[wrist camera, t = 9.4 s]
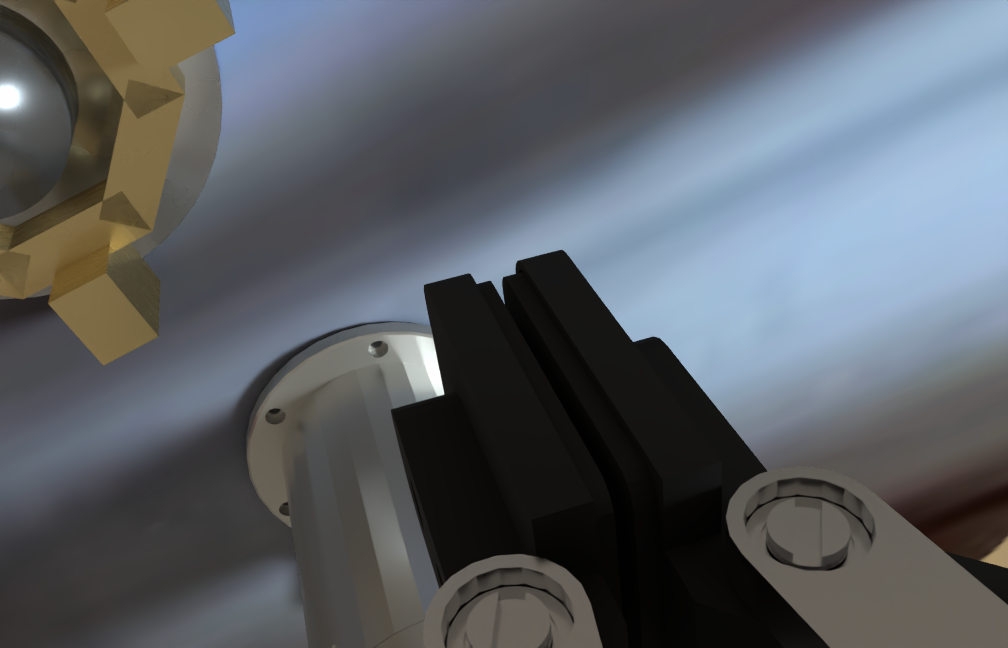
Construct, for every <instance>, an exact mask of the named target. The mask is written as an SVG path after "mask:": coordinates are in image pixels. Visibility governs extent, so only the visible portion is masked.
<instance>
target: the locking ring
mask: <svg viewBox="0 0 1008 648" xmlns="http://www.w3.org/2000/svg"><path fill="white" fill-rule="evenodd" d="M54 2H55V3H56V4H57V6H58V7H59V9H60V10H61V11H62V13H63V14H64V16H65V17H66V19H67V20H68V21H69V23H70V24H71V26H72V27H73V28H74V30H75V31H76V33H77V34H78V35H79V37H80V38H81V40H82V41H83V43H84V44H85V45H86V47H87V48H88V50H89V51H90V52H91V54H92V55H93V57H94V58H95V59H96V61H97V62H98V64H99V65H100V67H101V68H102V69H103V71H104V72H105V74H106V75H107V76H108V78H109V79H110V81H111V82H112V83H113V85H114V86H115V88H116V89H117V91H118V92H119V93H120V95H121V96H122V98H123V103H122V107H121V112H120V117H119V122H118V126H117V131H116V136H115V141H114V145H113V150H112V155H111V160H110V164H109V169H108V174H107V179H105V180H103V181H101V182H99V183H97V184H96V185H94V186H92V187H90V188H88V189H86V190H84V191H82V192H80V193H78V194H76V195H75V196H73V197H71V198H69V199H67V200H65V201H63V202H61V203H59V204H57V205H55V206H54V207H52V208H50V209H48V210H46V211H44V212H42V213H40V214H38V215H36V216H35V217H33V218H31V219H29V220H27V221H25V222H23V223H21V224H19V225H17V226H11V225H6V224H1V223H0V295H1V296H7V297H12V298H18V299H25V298H27V297H29V296H30V295H32V294H34V293H36V292H38V291H40V290H42V289H44V288H46V287H48V286H50V285H51V284H52V289H51V293H50V298H49V302H48V304H49V305H50V306H51V307H52V308H53V310H54V311H55V312H56V313H57V314H58V315H59V316H60V317H61V319H62V320H63V321H64V322H65V323H66V324H67V325H68V326H69V328H70V329H71V330H72V331H73V332H74V333H75V334H76V335H77V336H78V338H79V339H80V340H81V341H82V342H83V343H84V344H85V345H86V347H87V348H88V349H89V350H90V351H91V352H92V353H93V354H94V356H95V357H96V358H97V359H98V360H99V361H100V362H101V363H102V364H103V366H104V365H106V364H107V363H109V362H111V361H113V360H115V359H117V358H119V357H121V356H123V355H125V354H126V353H128V352H130V351H132V350H134V349H136V348H138V347H140V346H142V345H143V344H145V343H147V342H149V341H151V340H153V339H155V338H157V337H158V336H159V306H160V280H159V279H158V277H157V276H156V275H155V273H154V272H153V271H152V270H151V268H150V267H149V266H148V264H147V263H146V262H145V261H144V259H143V258H142V257H141V256H140V254H139V253H138V252H137V250H136V249H135V248H134V247H133V245H132V244H131V242H133V241H135V240H137V239H139V238H141V237H143V236H145V235H147V234H148V233H150V232H152V231H153V228H154V224H155V219H156V215H157V211H158V207H159V203H160V198H161V194H162V190H163V186H164V182H165V177H166V173H167V169H168V165H169V161H170V156H171V152H172V148H173V144H174V140H175V135H176V131H177V127H178V123H179V119H180V114H181V110H182V106H183V102H184V98H185V76H184V74H183V73H182V71H181V70H180V68H179V67H178V65H177V64H178V63H180V62H182V61H184V60H186V59H188V58H189V57H191V56H193V55H195V54H197V53H199V52H201V51H203V50H205V49H207V48H209V47H210V46H212V45H214V44H216V43H218V42H220V41H222V40H224V39H226V38H228V37H230V36H231V35H233V34H235V29H234V23H233V18H232V13H231V8H230V2H229V0H54Z"/></svg>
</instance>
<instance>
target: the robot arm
mask: <svg viewBox="0 0 1008 648" xmlns="http://www.w3.org/2000/svg"><path fill="white" fill-rule="evenodd" d="M502 286H503V294H504V301H505V304H504V303H503V301H502V299H501V297H500V296H499V294H498V292H497V290H496V289H495V287H494V285H493V283H492V282H491V281H487V282H483V283H479V284H476V282H475V281H474V279H473V277H472V276H471V274H465V275H461V276H457V277H453V278H449V279H445V280H441V281H437V282H433V283H429V284H426V285H424V294H425V300H426V305H427V310H428V315H429V320H430V325H431V327H430V326H426V325H422V324H415V323H401V322H389V323H378V324H368V325H364V326H360V327H356V328H352V329H348V330H345V331H341V332H338V333H336V334H334V335H332V336H329V337H327V338H325V339H323V340H320V341H318V342H316V343H314V344H313V345H311V346H310V347H308V348H307V349H305V350H304V351H302V352H301V353H299V354H297V355H296V356H294V357H293V358H292V359H291V360H290V361H289V362H288V363H287V364H285V365H284V366H283V367H282V368H281V369H280V370H279V371H278V372H277V373H276V374H275V375H274V376H273V377H272V379H271V380H270V382H269V383H268V384H267V386H266V387H265V388H264V390H263V391H262V392H261V394H260V395H259V398H258V400H257V402H256V404H255V406H254V409H253V411H252V413H251V415H250V419H249V424H248V429H247V434H246V453H247V463H248V469H249V475H250V479H251V482H252V484H253V486H254V488H255V491H256V493H257V495H258V497H259V498H260V500H261V501H262V502H263V504H264V505H265V506H266V507H267V509H268V510H269V511H270V512H271V513H272V514H273V515H274V516H275V517H277V518H278V519H279V520H280V521H282V522H283V523H284V524H285V525H286V526H288V527H290V528H292V534H293V541H294V548H295V555H296V562H297V569H298V576H299V583H300V590H301V597H302V604H303V611H304V618H305V625H306V632H307V639H308V646H309V648H1008V568H1004V567H1001V566H997V565H993V564H989V563H986V562H982V561H978V560H974V559H971V558H967V557H963V556H959V555H956V554H952V553H948V552H945V551H943V550H941V549H940V548H939V547H938V546H937V545H935V544H934V543H933V542H932V541H931V540H929V539H928V538H927V537H926V536H925V535H923V534H922V533H921V532H920V531H919V530H917V529H916V528H915V527H914V526H913V525H911V524H910V523H909V522H908V521H907V520H905V519H904V518H903V517H902V516H901V515H899V514H898V513H897V512H896V511H895V510H893V509H892V508H891V507H890V506H889V505H887V504H886V503H885V502H884V501H883V500H881V499H880V498H879V497H878V496H877V495H875V494H874V493H873V492H872V491H870V490H869V489H867V488H866V487H864V486H863V485H861V484H859V483H858V482H856V481H855V480H853V479H852V478H849V477H846V476H843V475H841V474H838V473H835V472H832V471H830V470H825V469H818V468H811V467H804V466H801V467H785V468H777V469H774V470H771V471H767V470H766V469H765V468H764V466H763V465H762V464H761V463H760V461H759V460H758V459H757V458H756V456H755V455H754V454H753V453H752V451H751V450H750V449H749V447H748V446H747V445H746V444H745V442H744V441H743V440H742V439H741V437H740V436H739V435H738V434H737V432H736V431H735V430H734V429H733V427H732V426H731V425H730V424H729V422H728V421H727V420H726V419H725V417H724V416H723V415H722V414H721V412H720V411H719V410H718V409H717V407H716V406H715V405H714V404H713V402H712V401H711V400H710V399H709V397H708V396H707V395H706V394H705V392H704V391H703V390H702V389H701V387H700V386H699V385H698V384H697V382H696V381H695V380H694V379H693V377H692V376H691V375H690V374H689V372H688V371H687V370H686V369H685V367H684V366H683V365H682V364H681V362H680V361H679V360H678V359H677V357H676V356H675V355H674V354H673V352H672V351H671V350H670V349H669V347H668V346H667V345H666V344H665V343H664V342H663V341H662V340H661V339H660V338H657V337H650V338H646V339H643V340H639V341H636V342H632V340H631V339H630V338H629V336H628V335H627V334H626V332H625V331H624V330H623V328H622V327H621V326H620V324H619V323H618V322H617V320H616V319H615V318H614V316H613V315H612V314H611V312H610V311H609V310H608V308H607V307H606V306H605V304H604V303H603V302H602V300H601V299H600V298H599V296H598V295H597V294H596V292H595V291H594V290H593V288H592V287H591V286H590V284H589V283H588V282H587V280H586V279H585V278H584V276H583V275H582V273H581V272H580V271H579V269H578V268H577V267H576V265H575V264H574V263H573V261H572V260H571V259H570V257H569V256H568V255H567V253H565V252H564V251H563V250H558V251H554V252H551V253H547V254H543V255H539V256H535V257H531V258H527V259H523V260H519V261H517V263H516V274H514V275H510V276H506V277H503V280H502ZM376 341H378V342H376ZM373 342H375V343H373Z"/></svg>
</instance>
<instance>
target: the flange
mask: <svg viewBox="0 0 1008 648" xmlns="http://www.w3.org/2000/svg"><path fill="white" fill-rule="evenodd" d="M177 65H178V67H179V68H180V70H181V71H182V73H183V74H184V76H185V98H184V102H183V106H182V110H181V114H180V119H179V123H178V127H177V131H176V135H175V140H174V144H173V148H172V152H171V156H170V161H169V165H168V169H167V173H166V177H165V182H164V186H163V190H162V194H161V198H160V203H159V207H158V211H157V215H156V219H155V224H154V228H153V231H152V232H150V233H148V234H147V235H145V236H143V237H141V238H139V239H137V240H135V241H133V242H131V244H132V245H133V247H134V248H135V249H136V250H137V252H138V253H139V254H140V256H141V257H144V256H145V255H146V254H148V253H149V252H150V251H152V250H153V249H154V248H155V247H157V246H158V245H159V244H161V243H162V242H163V241H164V240H165V239H166V237H167V236H168V235H169V234H170V233H171V232H172V231H173V230H174V229H175V228H176V227H177V226H178V225H179V224H180V223H181V221H182V220H183V219H184V217H185V216H186V215H187V213H188V212H189V211H190V209H191V208H192V207H193V205H194V204H195V202H196V200H197V198H198V196H199V194H200V192H201V191H202V189H203V187H204V185H205V183H206V181H207V178H208V176H209V173H210V170H211V167H212V165H213V162H214V159H215V155H216V151H217V146H218V141H219V136H220V130H221V114H222V96H221V84H220V73H219V66H218V61H217V57H216V52H215V47H214V45H212V46H210V47H209V48H207V49H205V50H203V51H201V52H199V53H197V54H195V55H193V56H191V57H189V58H188V59H186V60H184V61H182V62H180V63H178V64H177ZM122 103H123V98H122V96H121V95H120V93H119V92H118V91H117V89H116V88H115V86H114V85H113V83H112V82H111V81H110V79H109V78H108V76H107V75H106V74H105V72H104V71H103V69H102V68H101V67H100V65H99V64H98V62H97V61H96V59H95V58H94V57H93V55H92V54H91V52H90V51H89V50H88V48H87V47H86V45H85V44H84V43H83V41H82V40H81V38H80V37H79V35H78V34H77V33H76V31H75V30H74V28H73V27H72V26H71V24H70V23H69V21H68V20H67V19H66V17H65V16H64V14H63V13H62V11H61V10H60V9H59V7H58V6H57V4H56V3H55V2H54V0H0V223H1V224H6V225H11V226H17V225H19V224H21V223H23V222H25V221H27V220H29V219H31V218H33V217H35V216H36V215H38V214H40V213H42V212H44V211H46V210H48V209H50V208H52V207H54V206H55V205H57V204H59V203H61V202H63V201H65V200H67V199H69V198H71V197H73V196H75V195H76V194H78V193H80V192H82V191H84V190H86V189H88V188H90V187H92V186H94V185H96V184H97V183H99V182H101V181H103V180H105V179H107V174H108V169H109V164H110V160H111V155H112V150H113V145H114V141H115V136H116V131H117V126H118V122H119V117H120V112H121V107H122ZM51 289H52V284H51V285H50V286H48V287H46V288H44V289H42V290H40V291H38V292H36V293H34V294H32V295H30V296H29V297H27V298H30V297H39V296H44V295H50V293H51ZM0 299H15V298H12V297H7V296H1V295H0Z"/></svg>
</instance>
